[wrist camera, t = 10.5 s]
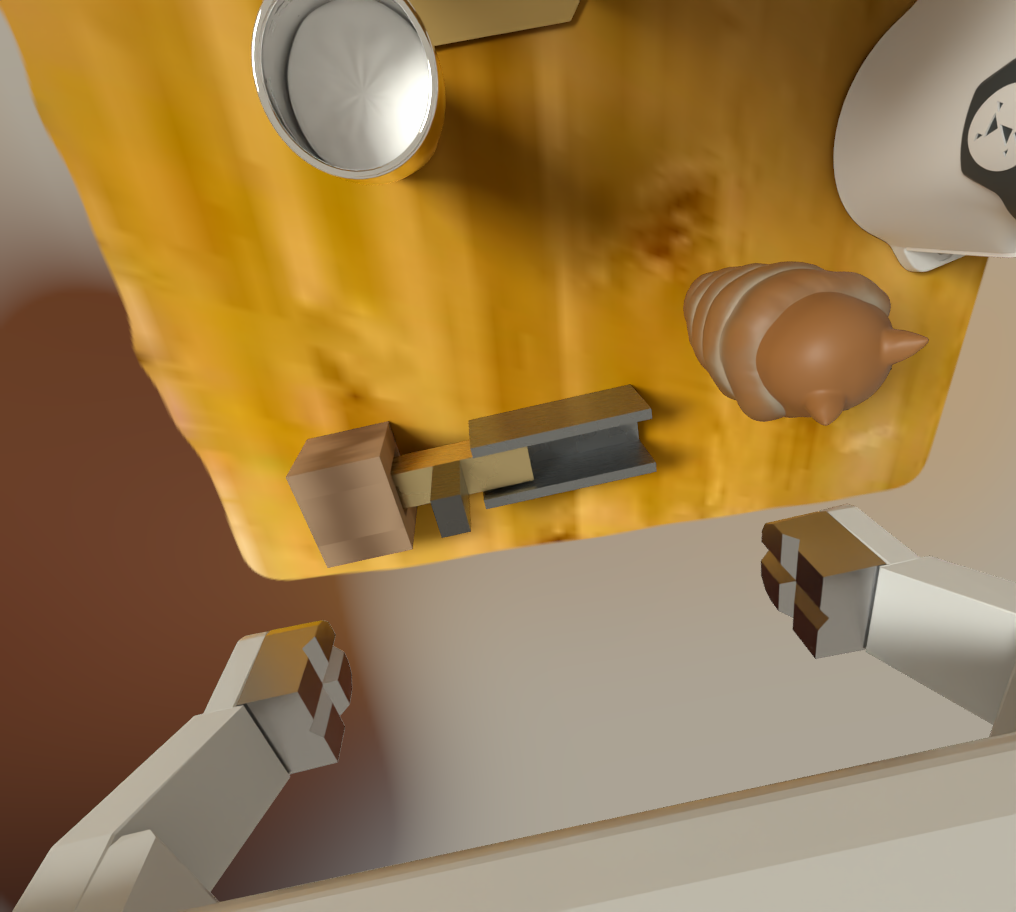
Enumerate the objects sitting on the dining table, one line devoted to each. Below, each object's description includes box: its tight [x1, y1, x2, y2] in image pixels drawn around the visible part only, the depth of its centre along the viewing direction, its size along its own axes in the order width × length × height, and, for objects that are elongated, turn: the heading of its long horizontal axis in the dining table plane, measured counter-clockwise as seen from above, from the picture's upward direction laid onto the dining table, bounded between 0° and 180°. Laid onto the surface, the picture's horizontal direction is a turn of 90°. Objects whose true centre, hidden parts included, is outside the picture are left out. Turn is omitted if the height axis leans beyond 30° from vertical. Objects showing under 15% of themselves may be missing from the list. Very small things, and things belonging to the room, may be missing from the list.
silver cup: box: [251, 0, 446, 185], centre depth 26 cm, size 7×7×15 cm
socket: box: [286, 421, 417, 568], centre depth 40 cm, size 6×8×6 cm
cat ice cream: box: [683, 262, 929, 425], centre depth 31 cm, size 9×8×18 cm
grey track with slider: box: [469, 385, 656, 509], centre depth 41 cm, size 13×5×5 cm, turn 101°
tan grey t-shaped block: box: [390, 440, 534, 538], centre depth 39 cm, size 14×3×8 cm, turn 102°
